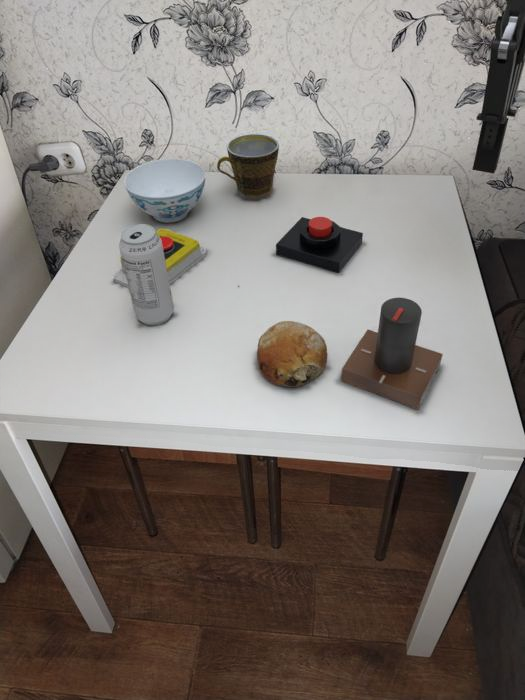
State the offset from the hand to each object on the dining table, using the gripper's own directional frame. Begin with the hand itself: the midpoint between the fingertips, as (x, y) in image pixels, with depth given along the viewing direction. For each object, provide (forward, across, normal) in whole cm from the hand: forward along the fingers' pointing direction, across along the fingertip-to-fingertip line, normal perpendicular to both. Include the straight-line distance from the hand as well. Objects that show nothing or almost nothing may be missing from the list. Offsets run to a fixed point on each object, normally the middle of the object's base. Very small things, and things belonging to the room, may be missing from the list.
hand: (484, 169), depth 76 cm
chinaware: (+22, +4, +56) cm, 61 cm away
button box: (+22, +6, +25) cm, 34 cm away
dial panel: (+23, -18, +4) cm, 29 cm away
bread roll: (+23, -22, +17) cm, 36 cm away
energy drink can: (+23, -22, +41) cm, 52 cm away
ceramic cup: (+22, +17, +46) cm, 54 cm away
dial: (+21, -18, +4) cm, 27 cm away
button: (+19, +6, +25) cm, 32 cm away
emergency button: (+23, -11, +48) cm, 54 cm away
